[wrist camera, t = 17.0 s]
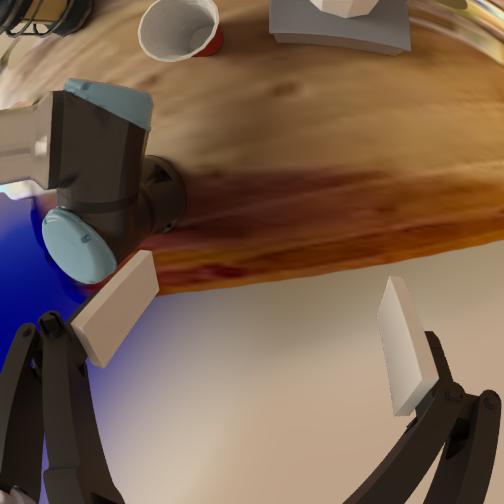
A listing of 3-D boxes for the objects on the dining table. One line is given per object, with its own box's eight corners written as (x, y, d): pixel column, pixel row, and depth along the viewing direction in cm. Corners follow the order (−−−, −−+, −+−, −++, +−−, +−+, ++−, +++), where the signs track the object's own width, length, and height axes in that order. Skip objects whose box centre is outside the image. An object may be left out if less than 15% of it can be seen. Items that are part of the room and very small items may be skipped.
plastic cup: (222, 80, 37) (192, 72, 27) (166, 60, 36) (125, 52, 26) (252, 24, 31) (233, -2, 21) (194, 7, 31) (160, -16, 20)
